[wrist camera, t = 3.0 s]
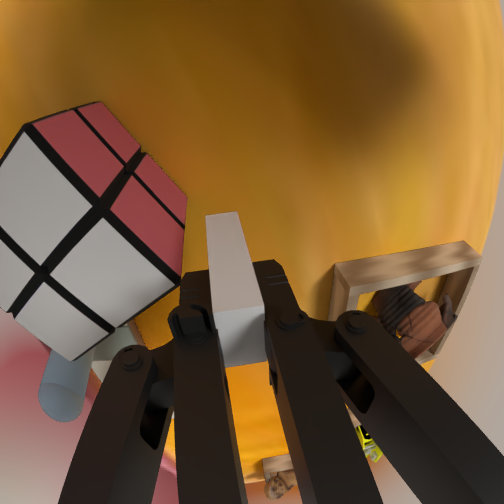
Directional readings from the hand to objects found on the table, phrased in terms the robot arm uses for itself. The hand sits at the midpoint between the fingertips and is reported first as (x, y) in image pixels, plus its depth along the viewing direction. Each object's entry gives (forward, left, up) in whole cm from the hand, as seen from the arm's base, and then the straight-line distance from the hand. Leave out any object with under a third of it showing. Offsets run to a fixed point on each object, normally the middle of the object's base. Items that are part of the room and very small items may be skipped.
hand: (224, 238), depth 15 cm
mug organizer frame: (-18, +17, -8) cm, 26 cm away
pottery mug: (-18, +16, -8) cm, 25 cm away
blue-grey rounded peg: (+13, +9, -6) cm, 17 cm away
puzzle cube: (+9, -1, -8) cm, 12 cm away
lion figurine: (-7, +66, -8) cm, 67 cm away
